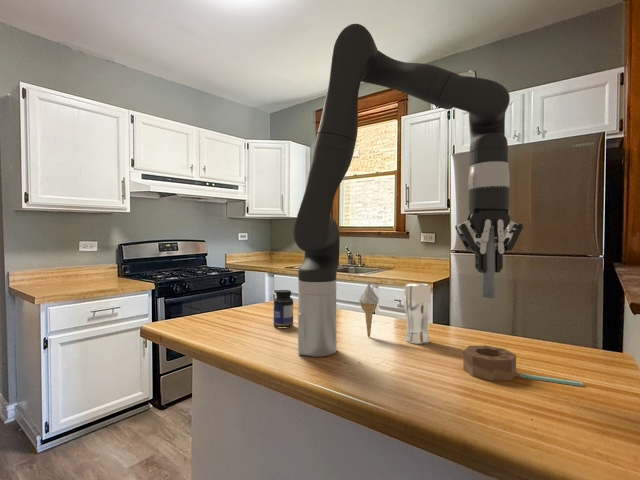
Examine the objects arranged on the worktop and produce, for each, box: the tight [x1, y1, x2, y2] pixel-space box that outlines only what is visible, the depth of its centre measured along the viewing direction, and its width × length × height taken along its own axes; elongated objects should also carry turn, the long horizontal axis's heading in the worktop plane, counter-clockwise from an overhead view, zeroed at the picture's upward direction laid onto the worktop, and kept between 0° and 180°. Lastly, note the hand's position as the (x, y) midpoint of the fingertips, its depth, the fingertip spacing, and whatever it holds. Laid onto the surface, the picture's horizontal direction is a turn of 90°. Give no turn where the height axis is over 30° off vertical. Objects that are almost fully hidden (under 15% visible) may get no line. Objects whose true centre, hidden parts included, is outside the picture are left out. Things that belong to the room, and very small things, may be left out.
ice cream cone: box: [358, 283, 380, 338], centre depth 96 cm, size 6×6×15 cm
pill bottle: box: [273, 289, 294, 328], centre depth 109 cm, size 6×6×11 cm
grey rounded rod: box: [481, 225, 497, 299], centre depth 71 cm, size 2×2×15 cm
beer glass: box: [403, 282, 432, 345], centre depth 92 cm, size 7×7×15 cm
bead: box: [462, 344, 517, 382], centre depth 71 cm, size 9×9×4 cm
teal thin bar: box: [519, 373, 584, 387], centre depth 66 cm, size 10×1×1 cm, turn 64°
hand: (489, 271), depth 71 cm, fingers closed on grey rounded rod, 2 cm apart
